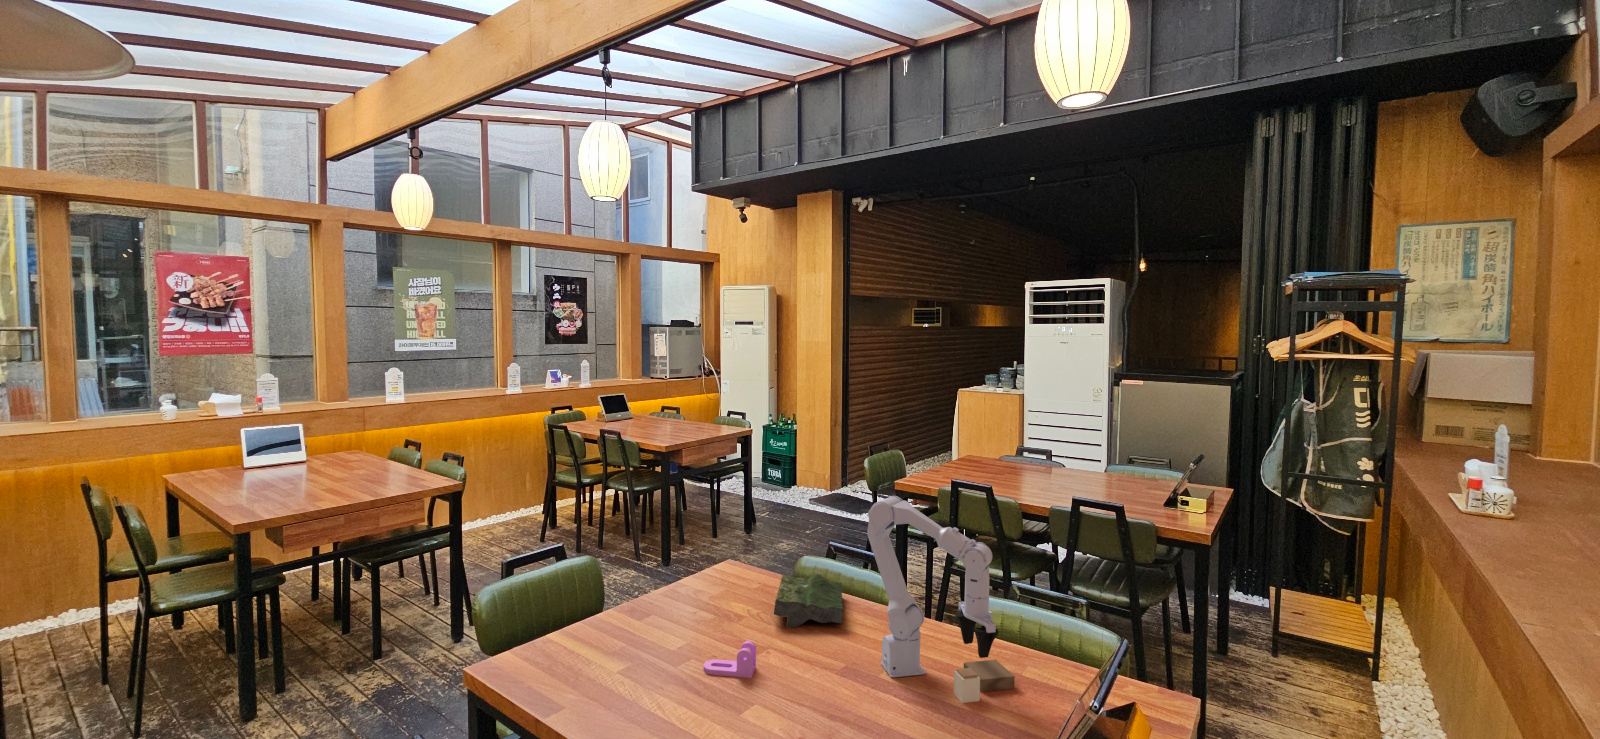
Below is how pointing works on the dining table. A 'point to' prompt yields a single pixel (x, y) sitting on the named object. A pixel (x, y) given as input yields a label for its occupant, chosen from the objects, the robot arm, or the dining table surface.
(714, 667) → the bracket
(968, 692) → the cream cardboard box
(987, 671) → the block
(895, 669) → the robot arm
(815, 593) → the landscape model
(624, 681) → the dining table surface
